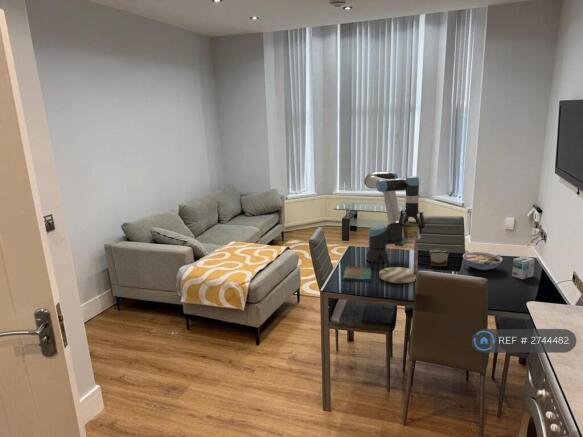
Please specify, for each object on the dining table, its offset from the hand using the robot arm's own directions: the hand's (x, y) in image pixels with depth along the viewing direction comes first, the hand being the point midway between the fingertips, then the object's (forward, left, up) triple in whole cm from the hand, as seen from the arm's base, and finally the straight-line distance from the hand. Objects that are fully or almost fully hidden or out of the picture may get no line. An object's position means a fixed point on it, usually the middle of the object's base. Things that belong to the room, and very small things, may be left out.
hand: (411, 237), depth 247 cm
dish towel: (-24, -24, -22) cm, 41 cm away
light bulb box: (+57, +28, -22) cm, 67 cm away
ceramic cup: (-1, 0, 0) cm, 1 cm away
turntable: (0, -17, -20) cm, 26 cm away
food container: (+9, +22, -22) cm, 32 cm away
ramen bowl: (+34, +29, -22) cm, 49 cm away
